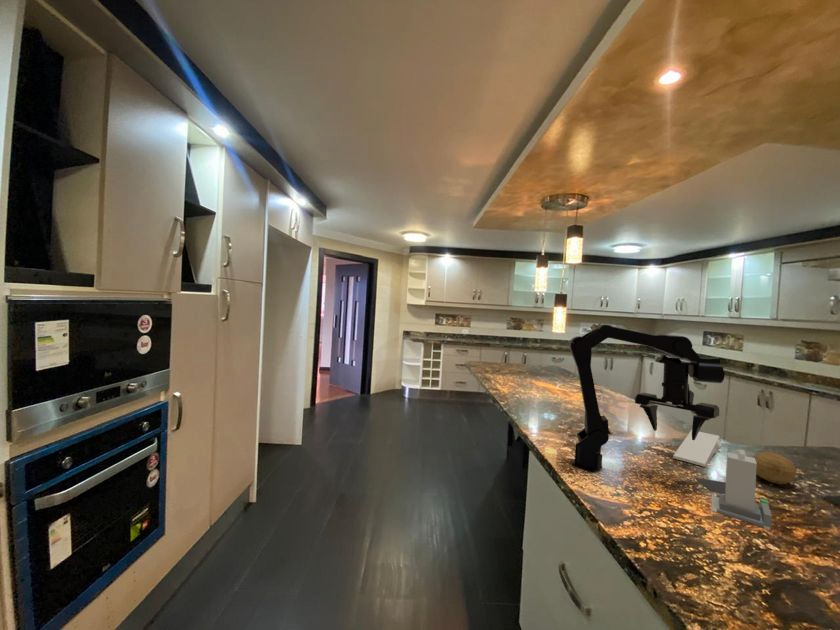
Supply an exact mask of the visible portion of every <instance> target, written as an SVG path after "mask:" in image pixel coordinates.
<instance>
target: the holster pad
mask: <svg viewBox="0 0 840 630" xmlns="http://www.w3.org/2000/svg"><path fill="white" fill-rule="evenodd" d="M693 478H694V479H696V480H697V482H699V483H700V484H701V485H702V486H703V487H704V488H705V489H706V490H708V491H709V492H711V493H716V494H720V493H721V494H724V495H725V485H726V481H720V480H719V481H718V480H713V479H706V478H700V477H695V476H694V477H693Z"/></svg>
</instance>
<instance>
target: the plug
mask: <svg viewBox="0 0 840 630" xmlns="http://www.w3.org/2000/svg"><path fill="white" fill-rule="evenodd" d="M756 467H757V463H756V460H755V458H753V457H752V456H747V455H746V451H745V450H743V449H737V453H733V452H730V451H729V452H726V469H725V470H726V471H725V472H726V473H725V482H726V485H725V494H722V493H719V494H720V495H719V505H720V509H722V510H725V511H728V512H732V513H735V514H738V515H742V516H745V517H748V518H752V519H755V520H758V521H760V511H759V507H758V503H757V502H756V501H755V500H756V483H757V474H756Z"/></svg>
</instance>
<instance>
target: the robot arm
mask: <svg viewBox="0 0 840 630" xmlns="http://www.w3.org/2000/svg"><path fill="white" fill-rule="evenodd" d="M607 339H613V340H618V341H623V342H626V343H632V344H636V345H642V346H646V347H649V348H652V349H655V350H657V351H660V352H663V353H665V354H661V355H660V356H659V357H657V358H656V359H655V362H656V363H658V364H663V376H662V377H663V379H662V381H663V382H661V387H662V396H661V397H660V398H658V396H657V394H654V393H653V394H652V393H648V392H640V393H637V394H636V395H635V396H634V404H637V405H639V407H640V408H642V409H643V411H644V412H645V414H646V416H647V418H648V420H649V422H650V425H651V427H652V430H653V431H655V432H656V431H658V415H657V411H658V405H659V406H664V407H670V408H675V409H680V410H684V411H691V412H694V413H695V414H696V415H693V417H692V418H693V419H692V427H691V430H692V440H695V439H696V437H697V434H698V432H700V430H701V428H702V426H703V425H704V423H705V422H706V421H709V420H711V419H712V420H713V419H715V418H718V417H720V407H719V406H718V405H717V404H712V403H711V404H710V403H706V402H699V403H696V404H694V396H695V393H694V392H693V391H692V390H690V384H689V378H692V379H693V381H694V382H700V383H710V384H711V383H712V384H713V383H714V384H722V383H723V382H724V380H725V376H726V375H725V372H726V371H724V366H723V365H722V362H721V358H717V357H708V358H707V357H700V356H699V354H698V353H697V352H696V350H694V349H693V343H692V341H691V339H690V338H688V337H687V336H683V335H675V334H674V335H671V334H669V335H668V334H653V333H647V332H642V331H636V330H632V329H628V328H627V329H626V328H622V327H618V326H613V325H611V324H601V325H599V326H598V327H597V328H595V329H593V330H591V331H590V332H588V333H586V334H584V335H582V336H578V335H577V336H574V337H572V338H571V339H570V341H569V343H568V348H569V351H570V353H571V355H572V358H573V361H574V364H575V366H576V369H577V374H578V379H579V384H580V390H581V395H582V400H583V406H584V411H585V412H584V428H583V429H582V430H580V431H579V432H577V433H576V436H577V441H578V442H577V443H575V446H574V447H575V450H574V451H575V452H574V461H573V462H571V465H572V466H573V467H577V468H580V469H582V470H584V471H587V472H590V473H595V472H597V471H599V470H601V469H603V465H602V464H603V454H602V446H604V445H605V444H607V442H608V441H609V440H610V436H611V435H612V433H611V432H610V429H609V420H608V418H607V416H605V415H604V414H603V415H601V413H600V408H599V403H598V398H597V392H596V388H595V382H594V376H593V372H592V348H594V347H596V346H597V345H599V344H600V343H602V342H604V341H606V340H607ZM666 354H668V355H670V356H676V357H669V356H667V355H666ZM681 359H683V360H687V361H682V360H681ZM609 435H610V436H609Z"/></svg>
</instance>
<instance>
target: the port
mask: <svg viewBox="0 0 840 630" xmlns="http://www.w3.org/2000/svg"><path fill="white" fill-rule="evenodd" d="M719 495H720V493H716V495H715V494H713V493H712V494H711V505H710V507H711V508H710V509H711V510H710V511H711V512H712V513H716V514H719V515H723V516H725V517H728V518H732V519H736V520H739V521H742V522H745V523H747V524H750V526H751V525H752V526H755V527H758V528H761V529H765V530H768V531H771V530H772V523H773V515H772V511H771V510H770V509H771V508H770V506H769V501H768V500H767V499H764V498H761V497H760V498H759V505H758V507H759V511H760V521H758V520H755V519H752V518H748V517H745V516H742V515H738V514H735V513H732V512H728V511H725V510H722V509H720V505H719Z"/></svg>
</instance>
